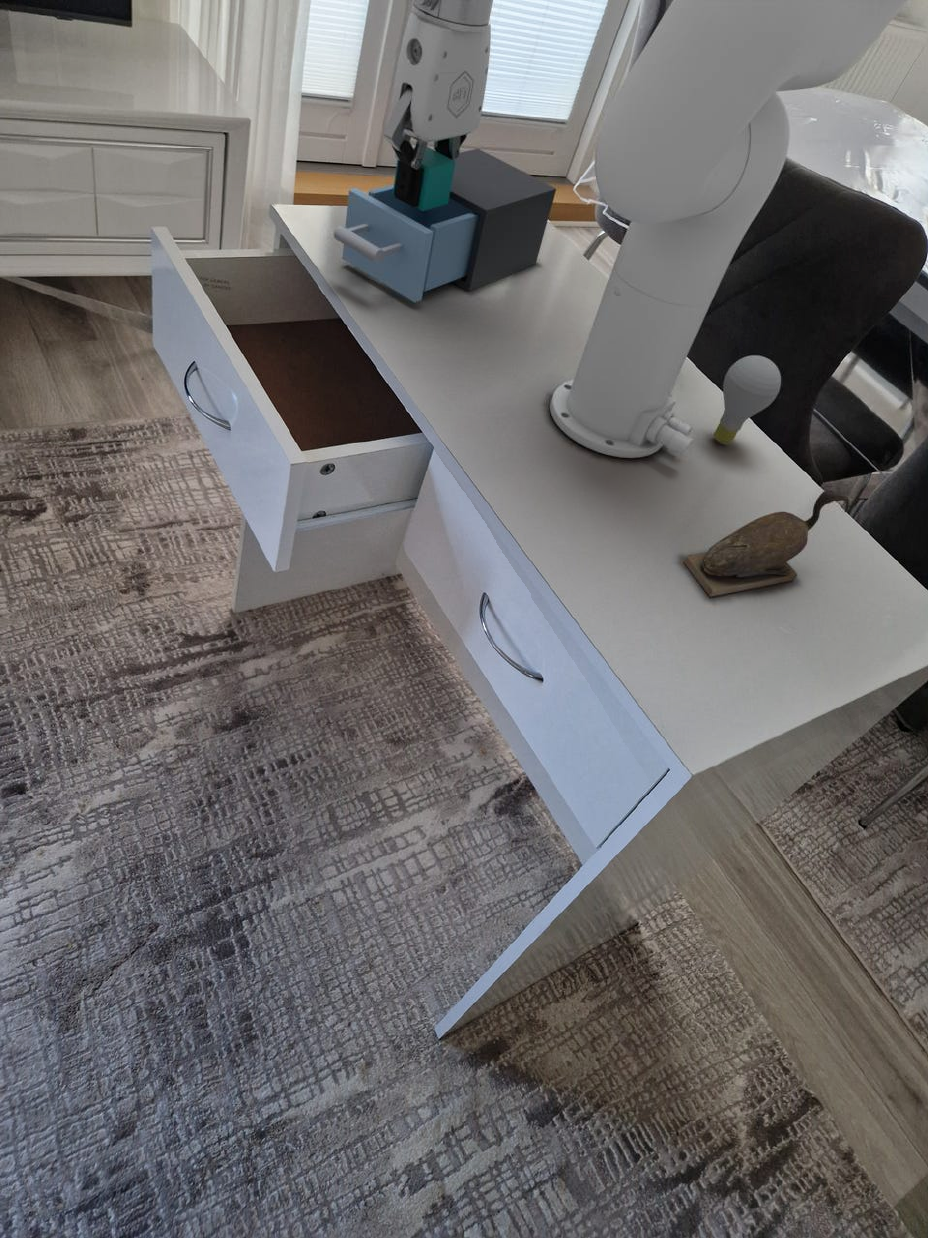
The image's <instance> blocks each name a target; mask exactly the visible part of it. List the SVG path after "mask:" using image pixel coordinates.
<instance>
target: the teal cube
mask: <svg viewBox="0 0 928 1238" xmlns="http://www.w3.org/2000/svg"><path fill="white" fill-rule="evenodd" d="M413 149H415V147H413ZM455 163H456V162H455V161H453V160H451V159H450V158H448V157H446V156H444V155H442V154H440V153H438V152H436V151H435V150H434V148H433V149H432V148H431V147H429V146H428V145H427V146H426V150H425V153H424V157H423V160H422V164H421V166H420V167H421V168H423V169H424V174H423V180H422V187H421V193H420V199H419V205H418V206H417V207H416V208H418V209H420V210H421V211H425V210H429V209H432V208H435V207H439V206H442V205H446V204H448V201H449V196H450V190H451V185H452V179H453V174H454V169H455ZM397 168H398V159H396V167H395V172H394V173H395V174H394V181H393V184H394V187H393V195H394V189H395V182H396V175H397Z"/></svg>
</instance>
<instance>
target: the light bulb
mask: <svg viewBox="0 0 928 1238" xmlns="http://www.w3.org/2000/svg"><path fill="white" fill-rule="evenodd" d="M781 385H782V376H781V371H780V369H779V368H778V366H777V365H776V363H775V362H773V361H772V360H771V359H769V358H767V357H766V356H762V355H759V354H758V355H757V354H756V355H753V354H752V355H747V356H744V357H742V358H739V359H738V360H737V361H736V362H734V363H733V364H732V365H731V366H730V367H729V368H728V370H727V371H726V374H725V376H724V379H723V384H722V394H723V403H724V412H723V414H722V416H721V417H720V420H719V423H718V424H717V425H718V426H717V427H716V429H715V430H714V433H713V438H714V439H715V440H716V441H717V442H718V444H721V445H729V444H732V442H733V441H734V439H735V437H736V436H737V433H738V432H739V431H740V430H741V429H742V427H743V425H744V423H745V422H746V421H747V420H748V419H750V418H751V417H753V416H755V415H757V414H758V413H760V412H762V411H763V410H765V409H766V408H768V407H769V406H771V404H773V402H774V401H775V400H776V399H777V396H778V395H779V393H780V390H781Z"/></svg>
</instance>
